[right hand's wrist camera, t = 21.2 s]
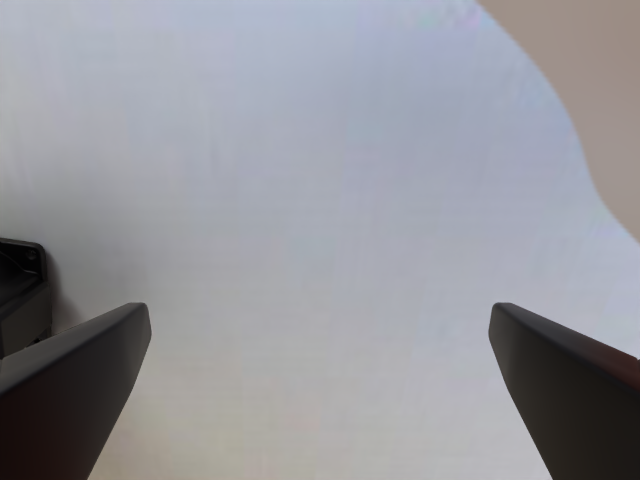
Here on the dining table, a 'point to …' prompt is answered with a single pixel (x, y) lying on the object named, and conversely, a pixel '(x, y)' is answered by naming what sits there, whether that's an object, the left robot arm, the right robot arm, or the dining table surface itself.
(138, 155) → the dining table surface
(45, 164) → the dining table surface
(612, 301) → the dining table surface
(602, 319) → the dining table surface
